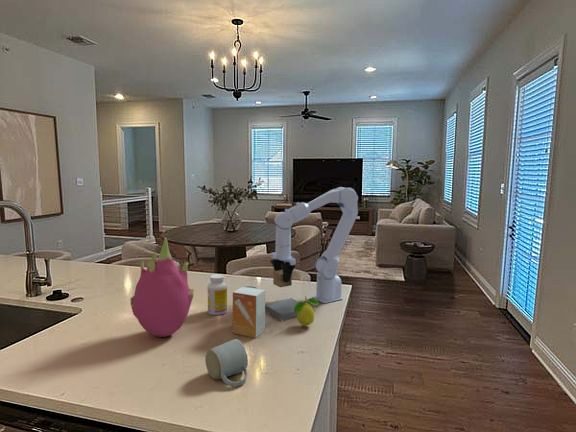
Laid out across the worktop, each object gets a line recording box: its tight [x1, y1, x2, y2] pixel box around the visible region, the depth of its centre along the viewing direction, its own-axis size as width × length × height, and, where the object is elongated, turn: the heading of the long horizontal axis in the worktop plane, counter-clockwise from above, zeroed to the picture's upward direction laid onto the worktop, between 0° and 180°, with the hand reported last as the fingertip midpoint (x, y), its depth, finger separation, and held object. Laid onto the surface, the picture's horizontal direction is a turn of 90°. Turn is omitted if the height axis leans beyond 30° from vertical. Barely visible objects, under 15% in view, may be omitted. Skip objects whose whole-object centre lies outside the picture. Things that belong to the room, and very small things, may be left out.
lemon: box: [294, 295, 319, 327], centre depth 120 cm, size 7×6×10 cm
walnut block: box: [272, 270, 293, 288], centre depth 142 cm, size 5×5×5 cm
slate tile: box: [265, 297, 300, 321], centre depth 133 cm, size 12×12×2 cm
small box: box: [232, 286, 266, 339], centre depth 114 cm, size 8×6×13 cm
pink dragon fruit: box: [129, 236, 195, 338], centre depth 111 cm, size 18×14×30 cm
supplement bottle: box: [207, 274, 228, 316], centre depth 131 cm, size 7×7×13 cm
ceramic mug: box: [204, 338, 249, 388], centre depth 90 cm, size 11×8×8 cm
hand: (282, 279), depth 142 cm, fingers closed on walnut block, 5 cm apart
